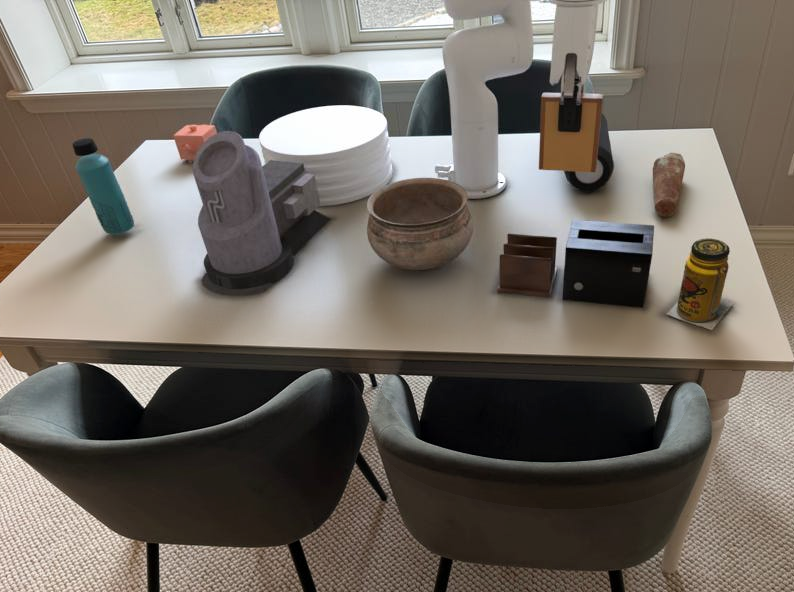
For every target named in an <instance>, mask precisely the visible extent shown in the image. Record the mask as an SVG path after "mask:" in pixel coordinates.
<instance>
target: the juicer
mask: <svg viewBox="0 0 794 592" xmlns="http://www.w3.org/2000/svg"><path fill="white" fill-rule="evenodd" d="M192 175H193V178H194V181H195V185H196V187H197V190H198V194H199V196H200V200H201V203H202V206H201V209H200V210H199V213H198V218H197V226H198V229H199V232H200V236H201V238H202V241H203V244H204V247H205V250H206V255H205V257H204V258H203V267H204V269H205V273H204V274H203V276H202V278H201V279H200V281H201V284H202V286H204V288H205V289H206V290H208V291H209V292H211V293H213V294H217V295H221V296H227V297H244V296H245V297H246V296H251V295H252V296H253V295H257V294H261V293H265V292H266V291H267V290H268V289H269V288H270V286H271V285H274V284H275V283H277V282H279V281H280V280H282V279H284V277H287V275H288V274H289V273H290V272H291V270H292V269H293V267H294V264H295V258H294V257H295V256H296V255H297V254H298V253H299V252H300V251H301V250H302V248H304V247H305V246H306V244H308V242H310V240H312V239H313V237H315V235H317V234H318V232H319V231H320V230H322V229H323V228H324V226H326V224H328V222H329V221H330V220H331V218H329V217H328V216H326V215H325V214H323V213H321V212H319V211H317V210H316V209H317V208H318V207H320V206H319V205H320V200H319V195H318V190H317V185H316V180H315V175H312V174H308V172H307V170H306V169H305V168H304V164H303V163H294V162H284V161H275V160H270V161H269V162H267V163H266V164H265V163H264V164H263V165H262V161H261V157H260V155H259V153H258V151H257V150H255V148H253V147H251V146H250V145H247V144H245V141H244V138H243V137H242V136H241V135H240V134H239V133H237V132H236V131H232V130H223V131H219V132H217V134H215V135H213V136H212V137H210V138H209V139H208V140H206V142H205V143H204V144H203V145H202V146H201V147H200V149H199V150H198V152H197V154H196V157H195V159H194V162H192Z"/></svg>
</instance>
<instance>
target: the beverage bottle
mask: <svg viewBox="0 0 794 592" xmlns="http://www.w3.org/2000/svg"><path fill="white" fill-rule="evenodd" d="M71 145H72V148H73V152H74V155H76V156H77V157H80V158H79V159H78V160H77V162H76V164H75V171H76V172H77V173H78V176H79V179H80V181H81V182H82V185H83V188H84V191H85V192H86V194H87V197H88V199H89V202H90V204H91V206H92V209H93V210H94V213H95V216H96V218H97V220H98V222H99V224H100V226H101V228H102V231H104V232H105V233H106V234H108V235H118V234H122V233H126V232H127V231H130V230H131V229H133V227H134V226H135V219H134V216H133V214H132V211H131V209H130V207H129V204H128V202H127V201H126V197H125V195H124V192H123V190H122V188H121V185H120V184H119V182H118V179H117V177H116V174H115V172H114V170H113V168H112V165H111V163H110V160H109V158H108V157H107V156H105V155H103V154H101V153H100V154H99V153H96V152H97V151H98V150H99V148H98V146H97V144H96V142H95V140H94V139H93V138H92V137H91V138H90V137H84V138H80V139H77V140H75V141H74V142H72V144H71Z"/></svg>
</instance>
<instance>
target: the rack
mask: <svg viewBox="0 0 794 592" xmlns="http://www.w3.org/2000/svg"><path fill="white" fill-rule="evenodd" d="M506 236H507V237H506V240H507V243H503V254H502V253H501V254H500V253H499V255H498V256H499V259H498V260H499V283H498V285H497V289H496V292H497V293H501V294H512V295H520V296H521V295H522V296H531V297H539V298H540V297H541V298H551V296H552V292H553V289H554V284H555V280H556V277H557V273H558V266H556V260H557V244H558V243H557V241H558V237H556V236H548V235H547V236H545V235H535V234H531V235H530V234H519V233H507V234H506Z"/></svg>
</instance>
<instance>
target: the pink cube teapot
mask: <svg viewBox="0 0 794 592" xmlns="http://www.w3.org/2000/svg"><path fill="white" fill-rule="evenodd" d="M217 133H218V131H217V129H216V125H212V124H186V125H185V126H184V127H182V128H181V129H179V130H178V131H176V132H175V134H173V135H172V136H173V140H174V142H175V143H174V144H175V145H176V148H177V152H178V155H179V157H180V158H179V159H180V160H188V162H187V163H194V159H195V157H196V154H197V152H198V150H199V149H200V147H201V146H202V145H203V144H204V143H205V142H206V140H208V139H209V138H210V137H212V136H213V135H215V134H217Z"/></svg>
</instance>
